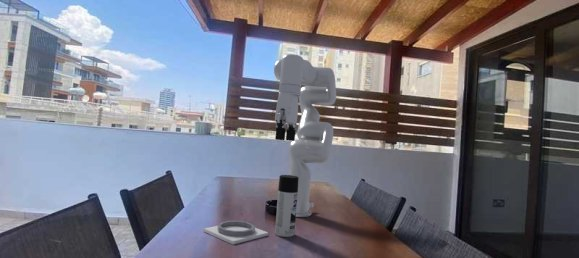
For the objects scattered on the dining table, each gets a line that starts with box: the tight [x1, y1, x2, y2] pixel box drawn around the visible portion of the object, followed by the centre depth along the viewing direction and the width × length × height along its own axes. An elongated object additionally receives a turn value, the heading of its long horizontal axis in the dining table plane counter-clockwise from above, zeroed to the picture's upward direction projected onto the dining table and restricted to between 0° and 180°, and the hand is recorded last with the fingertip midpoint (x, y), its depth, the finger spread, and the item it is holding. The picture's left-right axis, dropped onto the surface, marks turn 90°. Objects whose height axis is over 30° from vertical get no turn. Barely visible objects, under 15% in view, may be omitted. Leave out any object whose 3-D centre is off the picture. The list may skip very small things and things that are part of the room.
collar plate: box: [203, 220, 269, 245], centre depth 115 cm, size 15×15×2 cm
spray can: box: [274, 174, 299, 238], centre depth 118 cm, size 7×7×20 cm
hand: (285, 140), depth 120 cm, fingers open, 9 cm apart
